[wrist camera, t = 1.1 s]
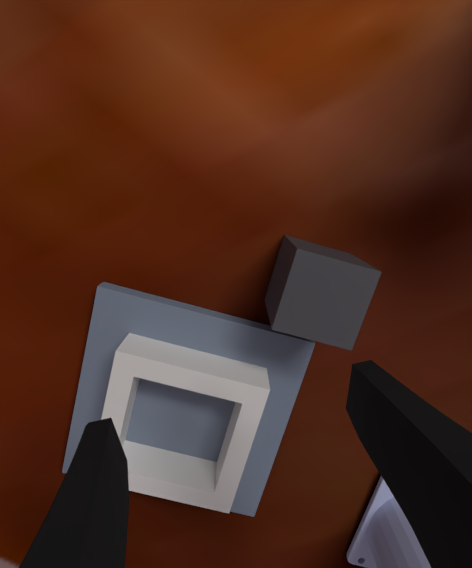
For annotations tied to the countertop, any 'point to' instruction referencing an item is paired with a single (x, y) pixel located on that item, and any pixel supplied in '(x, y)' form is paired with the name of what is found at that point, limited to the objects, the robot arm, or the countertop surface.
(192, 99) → the countertop surface
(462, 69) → the countertop surface
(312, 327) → the plug
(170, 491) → the socket plate
